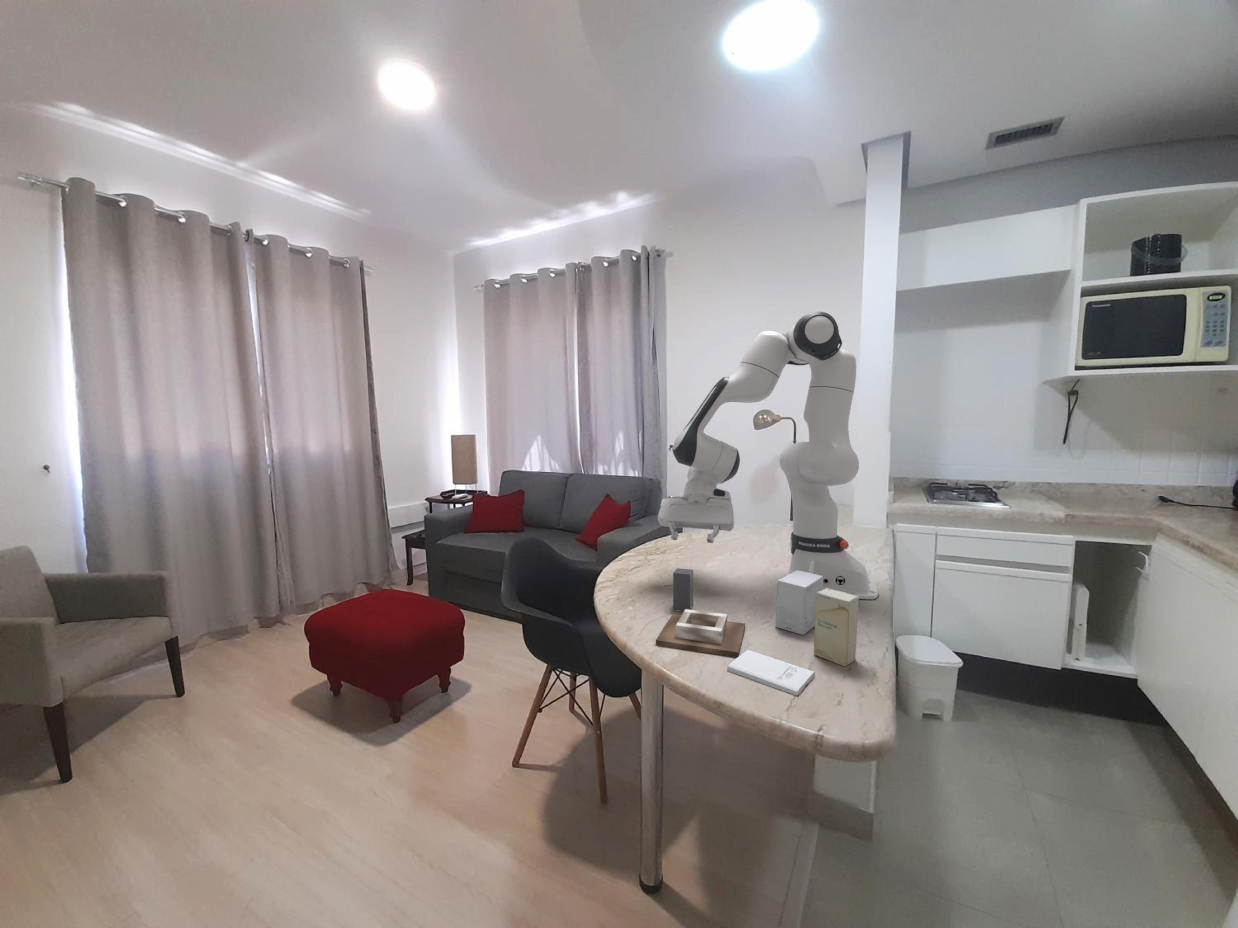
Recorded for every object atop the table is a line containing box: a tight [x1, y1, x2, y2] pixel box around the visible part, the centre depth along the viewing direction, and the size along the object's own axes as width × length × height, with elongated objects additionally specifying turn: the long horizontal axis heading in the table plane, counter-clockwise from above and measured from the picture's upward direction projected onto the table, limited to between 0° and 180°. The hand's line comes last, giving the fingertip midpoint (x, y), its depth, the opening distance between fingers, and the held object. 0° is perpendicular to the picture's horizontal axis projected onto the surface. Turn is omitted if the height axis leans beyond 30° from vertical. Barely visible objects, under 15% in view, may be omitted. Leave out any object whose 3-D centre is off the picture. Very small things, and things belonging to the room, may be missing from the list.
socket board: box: [655, 609, 746, 658], centre depth 97 cm, size 16×14×4 cm
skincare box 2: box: [813, 588, 860, 667], centre depth 88 cm, size 6×4×12 cm
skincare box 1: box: [774, 570, 823, 636], centre depth 103 cm, size 10×6×10 cm, turn 137°
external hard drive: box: [727, 649, 816, 697], centre depth 83 cm, size 2×8×12 cm
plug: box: [672, 567, 694, 612], centre depth 113 cm, size 4×4×9 cm
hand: (691, 540), depth 122 cm, fingers open, 8 cm apart
